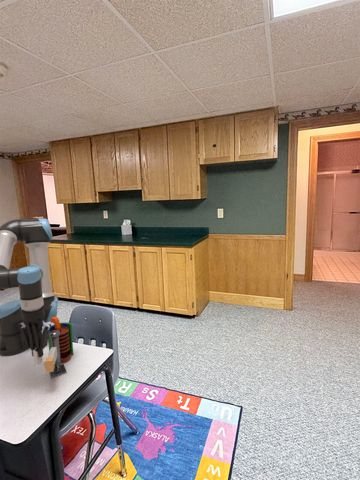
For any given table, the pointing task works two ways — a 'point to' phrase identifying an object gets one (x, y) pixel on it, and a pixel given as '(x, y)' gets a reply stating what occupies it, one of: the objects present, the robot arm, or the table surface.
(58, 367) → the post
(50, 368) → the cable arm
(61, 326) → the motor
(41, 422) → the table surface
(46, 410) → the table surface
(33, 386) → the table surface
